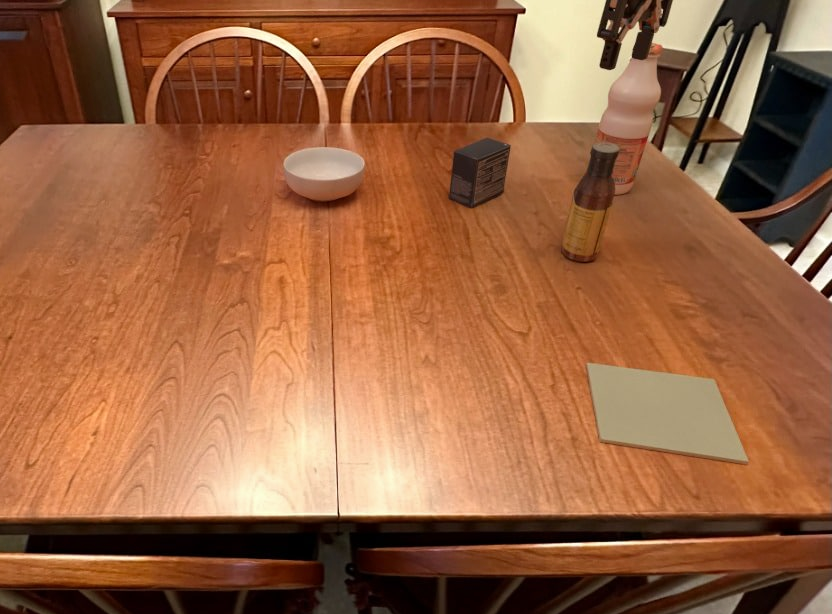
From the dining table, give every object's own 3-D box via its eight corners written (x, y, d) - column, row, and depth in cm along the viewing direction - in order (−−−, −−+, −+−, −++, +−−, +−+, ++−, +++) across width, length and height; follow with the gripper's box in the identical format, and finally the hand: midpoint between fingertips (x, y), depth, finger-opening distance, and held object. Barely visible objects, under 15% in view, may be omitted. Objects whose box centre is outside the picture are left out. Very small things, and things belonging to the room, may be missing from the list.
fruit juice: (574, 179, 131) (610, 40, 114) (613, 174, 132) (654, 37, 115) (600, 198, 123) (642, 53, 106) (641, 192, 125) (688, 49, 108)
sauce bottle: (580, 242, 109) (610, 135, 97) (605, 259, 105) (640, 149, 93) (550, 249, 108) (577, 142, 96) (574, 267, 103) (605, 156, 91)
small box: (479, 183, 130) (486, 135, 123) (504, 193, 126) (513, 144, 119) (446, 198, 124) (452, 149, 118) (471, 209, 120) (479, 159, 114)
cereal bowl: (359, 214, 119) (360, 181, 115) (277, 209, 121) (275, 176, 117) (367, 178, 132) (368, 147, 128) (293, 174, 135) (292, 143, 130)
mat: (712, 382, 80) (714, 378, 80) (747, 464, 69) (749, 461, 69) (585, 365, 83) (586, 362, 83) (599, 442, 72) (600, 438, 72)
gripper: (655, -56, 75) (618, 78, 85) (712, -65, 82) (672, 60, 92) (601, -60, 80) (572, 67, 90) (659, -68, 87) (626, 51, 97)
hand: (623, 63), depth 91 cm, fingers open, 8 cm apart
